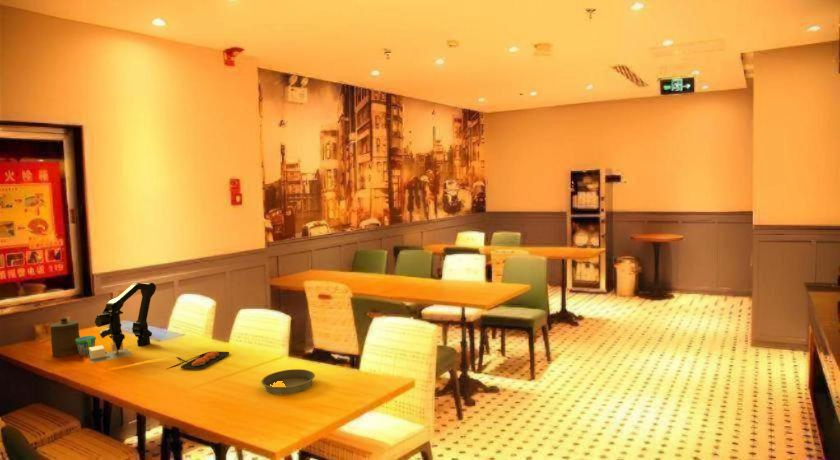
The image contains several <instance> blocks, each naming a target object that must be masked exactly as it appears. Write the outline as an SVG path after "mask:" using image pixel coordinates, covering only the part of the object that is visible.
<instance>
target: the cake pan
mask: <svg viewBox="0 0 840 460" xmlns="http://www.w3.org/2000/svg"><path fill="white" fill-rule="evenodd" d="M315 377H316V375H315V372H313V371H310V370H307V369H301V368H299V369H285V370H280V371H276V372H272V373H270V374H268V375H266V376H264V377H263V378H262V379H261V381H260V382H261V384H262V386H264V388H265V391H266V393H268V392H269V394H272V395H276V394H279V396H283V395H285V394H287V395H292V394H293V395H294V394H298V393H301V392H303V391H306V390H308V389H310V388H311V387H312V385H313V380H314V379H315ZM277 381H283V382H282V383H284V384H285V386H286V387H272V386H270V384H271V385H273V383H274V382H275V383H276V382H277ZM280 394H282V395H280ZM285 396H286V395H285Z"/></svg>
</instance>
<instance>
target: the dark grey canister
mask: <svg viewBox="0 0 840 460" xmlns="http://www.w3.org/2000/svg"><path fill="white" fill-rule="evenodd" d="M79 324H80V323H79V321H78V320H75V319H74V320H68V317H66V316H62V317H60V321H58V322H54V323H52V324H50V325H49V329H50V343H51V353H52V354H51V355H52V356H53V357H67V356H71V355H76V354H79V350H78V347H77V343H76V342H75V339H77V338H80V337H81V336H80V335H81V334H80V328H79V326H80V325H79ZM75 353H76V354H75Z"/></svg>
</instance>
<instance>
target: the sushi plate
mask: <svg viewBox="0 0 840 460" xmlns="http://www.w3.org/2000/svg"><path fill="white" fill-rule="evenodd" d="M229 354H230V352H229V351H214V350H213V351H207V352H203V353H202V354H199V355H196V356H195V357H191V358H189V359H187V360H185V359H183V358H181V357H178V356H176V358H177V359H178V360H180V361H182V362H179V363H177V364H175V365H171V366H169V367H168V368H166V370H168V369H171V368H172V369H173V368H174V367H177V366H180V365H181V366H180V368H181V369H185V370H189V369H190V370H197V369H198V370H201V369H205V368H207V367H209V366H211V365H213V364H215V363H216V362H217V361H220V360H222V359H223V358H225V357H226V356H229ZM182 364H183V365H182Z"/></svg>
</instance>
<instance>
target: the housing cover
mask: <svg viewBox="0 0 840 460" xmlns="http://www.w3.org/2000/svg"><path fill="white" fill-rule="evenodd" d="M105 352H106V348H105V347H104V345H103V344H100V345H95V346H94V347H89V354H88V355H89V356H90V358H91V359H95V358H100V357H105V356H106V355H105Z"/></svg>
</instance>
